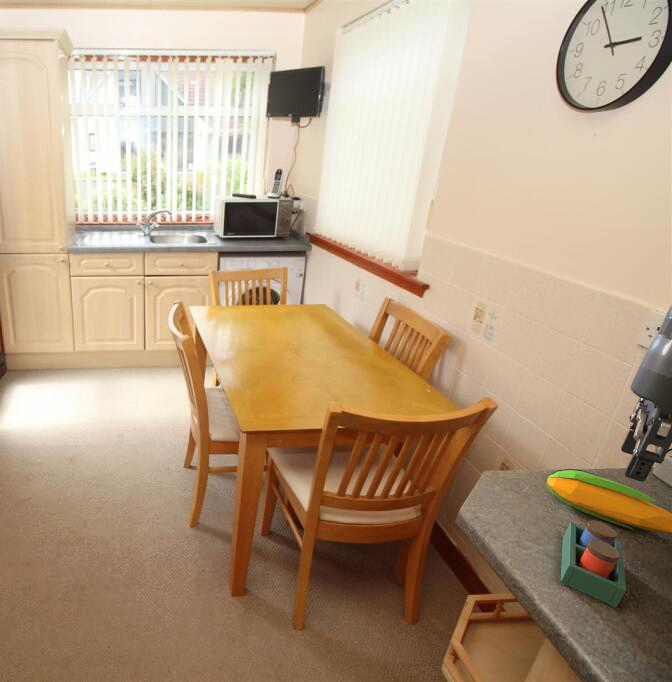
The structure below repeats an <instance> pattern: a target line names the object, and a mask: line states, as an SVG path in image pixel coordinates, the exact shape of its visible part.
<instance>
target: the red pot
mask: <svg viewBox="0 0 672 682" xmlns="http://www.w3.org/2000/svg"><path fill="white" fill-rule="evenodd" d="M619 557H620V554H619V552H618V551H617V550H616V549H615V548H614V547H612V546H611V545H609V544H607V543H605V542H602V541H599V540H591V541H589V543H588V545H587V547H586V549H585V551H584V553H583V555H582V557H581V559H580V561H579V563H578V565H577V566H578V567H581V568H583V569H585V570H588V571H590V572H592V573H595V574H597V575H599V576H601V577H604V578H606V579H608V577H609V575H610V573H611V572H612V570H613V568H614V566H615V564H616V563H617V561H618V559H619Z"/></svg>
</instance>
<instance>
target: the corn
mask: <svg viewBox="0 0 672 682" xmlns="http://www.w3.org/2000/svg"><path fill="white" fill-rule="evenodd" d="M546 485H547V488H548V489H549V491H550V492H551V494H553V495H554V496H555V497H556V498H558V499H559V500H560V501H562V502H563V503H565V504H566V505H568V506H571V507H573V508H574V509H576V510H578V511H580V512H582V513H584V514H588V515H589V516H592V517H595V518H598V519H600V520H603V521H605V522H607V523H612V524H615V525H617V526H620V527H623V528H626V529H629V530H633V531H634V528H632V527H635V528H637V529H641V530H646V531H649V532H658V533H663V534H664V533H666V534H672V512H669V511H668V510H666V509H664V508H662V507H660V506H658V505H655V504H654V503H656V502H657V500H656V499H655V498H653V497H651V496H649V495H647V494H645V493H643V492H641V491H639V490H637V489H636V488H633V487H630V486H627V485H625V484H622V483H620V482H617V481H616V480H615V481H614V480H611V479H608V478H605V477H604V476H601V475H599V474H596V473H593V472H589V471H586V470H582V469H575V468H567V469H557V470H556V471H554V472H551V473H550V474H548V476H547V479H546Z"/></svg>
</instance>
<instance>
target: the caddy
mask: <svg viewBox="0 0 672 682" xmlns="http://www.w3.org/2000/svg"><path fill="white" fill-rule="evenodd" d="M584 529H585V527H583V526H581V525H579V524H576V523H574V522H571V521H570V522H569V524H568V526H567V528H566V531H565V532H564V534H563V537H562V545H561V567H560V569H561V570H560V583H561V584H563V585H566V586H568V587H570V588H572V589H575V590H576V591H579V592H580V593H583V594H585V595H587V596H590V597H592V598H593V599H596V600H598V601H600V602H603V603H605V604H607V605H609V606H611V607H613V608H617V607H618V605H619V603H620V602H621V600H622V599H623V597H624V595H625V594H626V592H627V584H626V575H625V567H624V556H623V547H622V541H619V540H617V539H615V540H614V542H613V544H612V547H614V548H615V549H616V550H617V551H618V552H619V554H620V557H619V559H618V561H617V563H616V564H615V566H614V568H613V570H612V572H611V573H610V575H609V577H608V579H606V578H604V577H601V576H599V575H597V574H595V573H592V572H590V571H588V570H585V569H583V568H581V567H578V566H577V565H578V563H579V561H580V559H581V557H582V555H583V553H584V551H585V549H586V548H585V547H583V546H580V545H578V544H577V543H578V541H579V539H580V537H581V535H582V533H583V531H584Z"/></svg>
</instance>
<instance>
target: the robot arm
mask: <svg viewBox="0 0 672 682" xmlns="http://www.w3.org/2000/svg"><path fill="white" fill-rule="evenodd" d="M630 391H631V392H632V393H633V394H634V395H635V396H637V397H638V401H637V402H636V404H635V407H634V409H633V410H632V413H631V415H629V417H628V419H629V423H628V429H629V430H628V431H627V434H626V436H625V438H624V439H623V442H622V444H621V446H620V450H621V452H622V453H625V454H627V455H631V457H630V460H629V462H628V464H627V466H626V468H625V469H624V476H625V477H626V478H628V479H631V480H634V481H637V482H642V483H643V482H645V481H647V479H648V476H649V475H650V472H651V471H652V469H653V466H654V465H655V464H660V465H661V464H662V463H664V461H665V457H666V456H667V454H668V451H669V450H670V447H671V445H672V304H671V305H670V306H669V308H668V310H667V312H666V314H665V316H664V318H663V321H662V323H661V325H660V327H659V329H658V332H657V333H656V335H655V337H654V338H653V340H651V342H650V344H649V345H648V347H647V349H646V351H645V353H644V356H643V357H642V361H641V362H640V365H639V367H638V369H637V371H636V373H635V375H634V377H633V380H632V381H631V384H630ZM650 445H652V446H654V447H655V448H654V450H653V451H652V450H648V449H647V448H648V447H649V446H650Z"/></svg>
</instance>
